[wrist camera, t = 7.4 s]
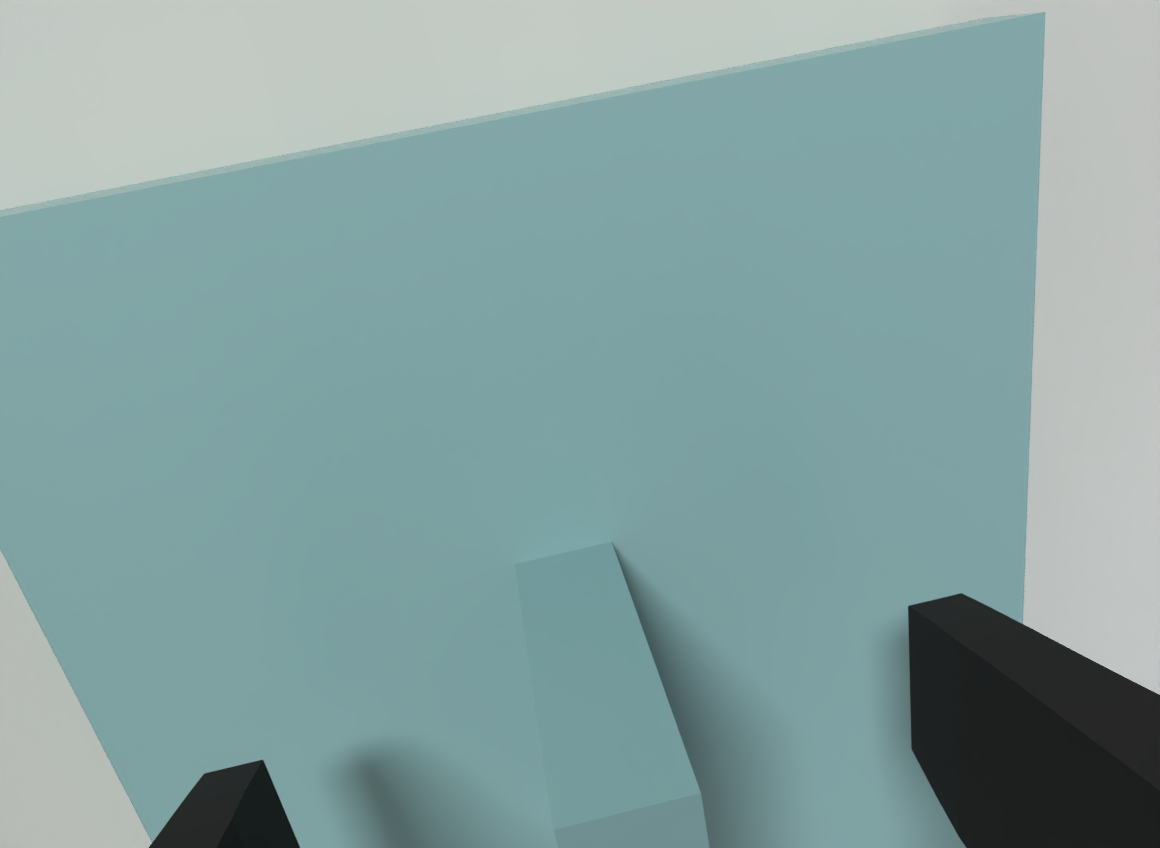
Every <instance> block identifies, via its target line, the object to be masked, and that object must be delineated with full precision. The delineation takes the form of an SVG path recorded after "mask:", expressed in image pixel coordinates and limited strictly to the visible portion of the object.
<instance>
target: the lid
mask: <svg viewBox="0 0 1160 848" xmlns="http://www.w3.org/2000/svg"><path fill="white" fill-rule="evenodd" d="M1044 32H1045V12H1042V13H1031V14H1020V15H1010V16H999V17H989V18H983V19H978V20H973V21H968V22H963V23H958V24H953V25H948V26H942V27H937V28H932V29H927V30H922V31H917V32H912V33H907V34H902V35H896V36H891V37H886V38H881V39H876V40H871V41H866V42H861V43H855V44H850V45H845V46H840V47H835V48H830V49H825V50H820V51H814V52H809V53H804V54H799V55H794V56H789V57H784V58H779V59H774V60H768V61H763V62H758V63H753V64H748V65H743V66H738V67H733V68H727V69H722V70H717V71H712V72H707V73H702V74H697V75H692V76H686V77H681V78H676V79H671V80H666V81H661V82H656V83H651V84H646V85H640V86H635V87H630V88H625V89H620V90H615V91H610V92H605V93H599V94H594V95H589V96H584V97H579V98H574V99H569V100H564V101H558V102H553V103H548V104H543V105H538V106H533V107H528V108H523V109H518V110H512V111H507V112H502V113H497V114H492V115H487V116H482V117H477V118H471V119H466V120H461V121H456V122H451V123H446V124H441V125H436V126H430V127H425V128H420V129H415V130H410V131H405V132H400V133H395V134H390V135H384V136H379V137H374V138H369V139H364V140H359V141H354V142H349V143H343V144H338V145H333V146H328V147H323V148H318V149H313V150H308V151H302V152H297V153H292V154H287V155H282V156H277V157H272V158H267V159H262V160H256V161H251V162H246V163H241V164H236V165H231V166H226V167H221V168H215V169H210V170H205V171H200V172H195V173H190V174H185V175H180V176H174V177H169V178H164V179H159V180H154V181H149V182H144V183H139V184H134V185H128V186H123V187H118V188H113V189H108V190H103V191H98V192H93V193H87V194H82V195H77V196H72V197H67V198H62V199H57V200H52V201H46V202H41V203H36V204H31V205H26V206H21V207H16V208H11V209H6V210H0V549H1V551H2V553H3V555H4V557H5V559H6V561H7V563H8V565H9V567H10V569H11V571H12V573H13V575H14V577H15V578H16V580H17V582H18V584H19V586H20V588H21V590H22V592H23V594H24V596H25V598H26V600H27V602H28V604H29V606H30V607H31V609H32V611H33V613H34V615H35V617H36V619H37V621H38V623H39V625H40V627H41V629H42V631H43V633H44V635H45V636H46V638H47V640H48V642H49V644H50V646H51V648H52V650H53V652H54V654H55V656H56V658H57V660H58V662H59V664H60V665H61V667H62V669H63V671H64V673H65V675H66V677H67V679H68V681H69V683H70V685H71V687H72V689H73V691H74V693H75V694H76V696H77V698H78V700H79V702H80V704H81V706H82V708H83V710H84V712H85V714H86V716H87V718H88V720H89V722H90V723H91V725H92V727H93V729H94V731H95V733H96V735H97V737H98V739H99V741H100V743H101V745H102V747H103V749H104V751H105V752H106V754H107V756H108V758H109V760H110V762H111V764H112V766H113V768H114V770H115V772H116V774H117V776H118V778H119V780H120V781H121V783H122V785H123V787H124V789H125V791H126V793H127V795H128V797H129V799H130V801H131V803H132V805H133V807H134V809H135V810H136V812H137V814H138V816H139V818H140V820H141V822H142V824H143V826H144V828H145V830H146V832H147V834H148V836H149V838H150V839H151V841H152V843H153V841H154V840H155V838H156V837H157V836H158V834H159V833H160V832H161V830H162V829H163V827H164V826H165V825H166V823H167V822H168V821H169V819H170V818H171V817H172V815H173V814H174V812H175V811H176V810H177V808H178V807H179V806H180V804H181V803H182V802H183V800H184V799H185V798H186V796H187V795H188V794H189V792H190V791H191V790H192V788H193V787H194V786H195V785H196V783H197V782H198V781H199V779H200V778H201V777H202V776H203V774H204V773H208V772H213V771H217V770H221V769H225V768H229V767H234V766H238V765H242V764H246V763H250V762H255V761H259V760H264V763H265V765H266V767H267V770H268V772H269V775H270V777H271V779H272V782H273V784H274V787H275V789H276V791H277V794H278V796H279V798H280V801H281V803H282V806H283V808H284V810H285V813H286V815H287V818H288V820H289V822H290V825H291V827H292V830H293V832H294V834H295V837H296V839H297V841H298V844H299V846H300V848H966V847H965V845H964V844H963V842H962V841H961V839H960V838H959V836H958V834H957V833H956V831H955V829H954V827H953V825H952V824H951V822H950V820H949V818H948V817H947V815H946V813H945V811H944V809H943V808H942V806H941V804H940V802H939V800H938V799H937V797H936V795H935V793H934V791H933V789H932V787H931V785H930V783H929V782H928V780H927V778H926V776H925V774H924V772H923V770H922V768H921V766H920V764H919V763H918V761H917V759H916V757H915V755H914V753H913V751H912V749H911V708H910V666H909V625H908V606H910V605H914V604H918V603H922V602H927V601H931V600H935V599H939V598H943V597H948V596H952V595H956V594H960V593H962V594H964V595H966V596H968V597H971V598H973V599H975V600H977V601H979V602H981V603H983V604H985V605H987V606H989V607H991V608H993V609H995V610H997V611H999V612H1000V613H1002V614H1004V615H1006V616H1008V617H1010V618H1012V619H1014V620H1016V621H1018V622H1020V623H1022V624H1023V603H1024V576H1025V548H1026V521H1027V494H1028V467H1029V440H1030V413H1031V385H1032V358H1033V331H1034V304H1035V277H1036V250H1037V222H1038V195H1039V168H1040V141H1041V114H1042V87H1043V59H1044Z"/></svg>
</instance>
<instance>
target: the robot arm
mask: <svg viewBox="0 0 1160 848" xmlns="http://www.w3.org/2000/svg"><path fill="white" fill-rule="evenodd" d="M908 625H909V666H910V708H911V749H912V751H913V753H914V755H915V757H916V759H917V761H918V763H919V764H920V766H921V768H922V770H923V772H924V774H925V776H926V778H927V780H928V782H929V783H930V785H931V787H932V789H933V791H934V793H935V795H936V797H937V799H938V800H939V802H940V804H941V806H942V808H943V809H944V811H945V813H946V815H947V817H948V818H949V820H950V822H951V824H952V825H953V827H954V829H955V831H956V833H957V834H958V836H959V838H960V839H961V841H962V842H963V844H964V845H965V847H966V848H1160V695H1159V694H1157V693H1155V692H1153V691H1151V690H1149V689H1147V688H1145V687H1143V686H1141V685H1139V684H1137V683H1135V682H1133V681H1131V680H1129V679H1127V678H1125V677H1123V676H1121V675H1119V674H1117V673H1115V672H1113V671H1111V670H1109V669H1107V668H1105V667H1104V666H1102V665H1100V664H1098V663H1096V662H1094V661H1092V660H1090V659H1088V658H1086V657H1084V656H1082V655H1080V654H1079V653H1077V652H1075V651H1073V650H1071V649H1069V648H1067V647H1065V646H1063V645H1061V644H1059V643H1058V642H1056V641H1054V640H1052V639H1050V638H1048V637H1046V636H1044V635H1042V634H1040V633H1039V632H1037V631H1035V630H1033V629H1031V628H1029V627H1027V626H1025V625H1023V624H1022V623H1020V622H1018V621H1016V620H1014V619H1012V618H1010V617H1008V616H1006V615H1004V614H1002V613H1000V612H999V611H997V610H995V609H993V608H991V607H989V606H987V605H985V604H983V603H981V602H979V601H977V600H975V599H973V598H971V597H968V596H966V595H964V594H962V593H960V594H956V595H952V596H948V597H943V598H939V599H935V600H931V601H927V602H922V603H918V604H914V605H910V606H908ZM149 848H300V846H299V844H298V841H297V839H296V837H295V834H294V832H293V830H292V827H291V825H290V822H289V820H288V818H287V815H286V813H285V810H284V808H283V806H282V803H281V801H280V798H279V796H278V794H277V791H276V789H275V787H274V784H273V782H272V779H271V777H270V775H269V772H268V770H267V767H266V765H265V763H264V760H259V761H255V762H250V763H246V764H242V765H238V766H234V767H229V768H225V769H221V770H217V771H213V772H208V773H204V774H203V776H202V777H201V778H200V779H199V781H198V782H197V783H196V785H195V786H194V787H193V788H192V790H191V791H190V792H189V794H188V795H187V796H186V798H185V799H184V800H183V802H182V803H181V804H180V806H179V807H178V808H177V810H176V811H175V812H174V814H173V815H172V817H171V818H170V819H169V821H168V822H167V823H166V825H165V826H164V827H163V829H162V830H161V832H160V833H159V834H158V836H157V837H156V838H155V840H154V841H153V843H152V844H151V845H150V847H149Z"/></svg>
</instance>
